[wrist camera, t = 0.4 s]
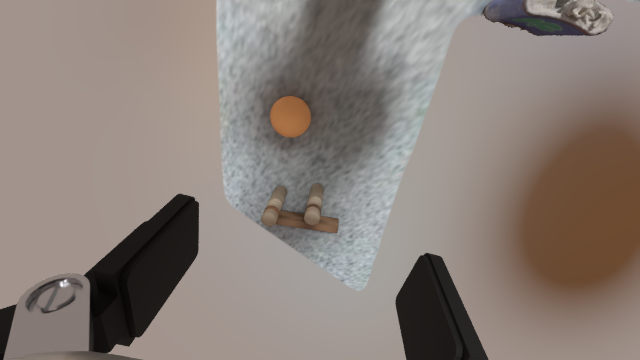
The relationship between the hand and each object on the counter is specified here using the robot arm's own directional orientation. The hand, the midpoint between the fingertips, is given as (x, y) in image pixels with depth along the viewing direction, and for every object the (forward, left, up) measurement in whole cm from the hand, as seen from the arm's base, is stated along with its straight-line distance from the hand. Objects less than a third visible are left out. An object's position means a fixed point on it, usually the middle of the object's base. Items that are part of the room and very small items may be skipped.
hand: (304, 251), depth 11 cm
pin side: (+18, -7, -33) cm, 38 cm away
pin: (+16, -1, -33) cm, 37 cm away
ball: (+3, -6, -30) cm, 31 cm away
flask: (-13, +22, -33) cm, 42 cm away
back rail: (+23, -2, -33) cm, 40 cm away
